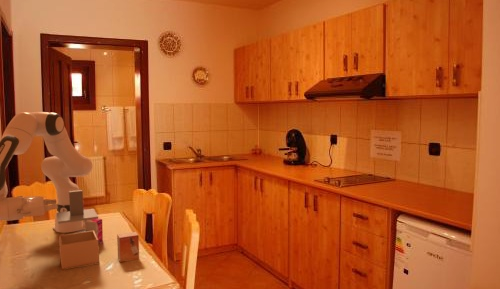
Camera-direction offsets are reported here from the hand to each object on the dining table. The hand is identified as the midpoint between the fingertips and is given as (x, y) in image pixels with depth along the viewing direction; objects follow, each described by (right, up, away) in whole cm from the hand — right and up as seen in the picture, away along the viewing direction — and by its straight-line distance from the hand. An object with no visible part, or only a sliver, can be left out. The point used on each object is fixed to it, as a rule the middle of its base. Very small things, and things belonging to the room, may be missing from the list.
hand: (57, 203), depth 163 cm
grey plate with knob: (+6, -6, +4) cm, 10 cm away
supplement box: (+5, -23, +27) cm, 36 cm away
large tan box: (+7, -25, +6) cm, 26 cm away
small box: (+27, -25, +8) cm, 37 cm away
